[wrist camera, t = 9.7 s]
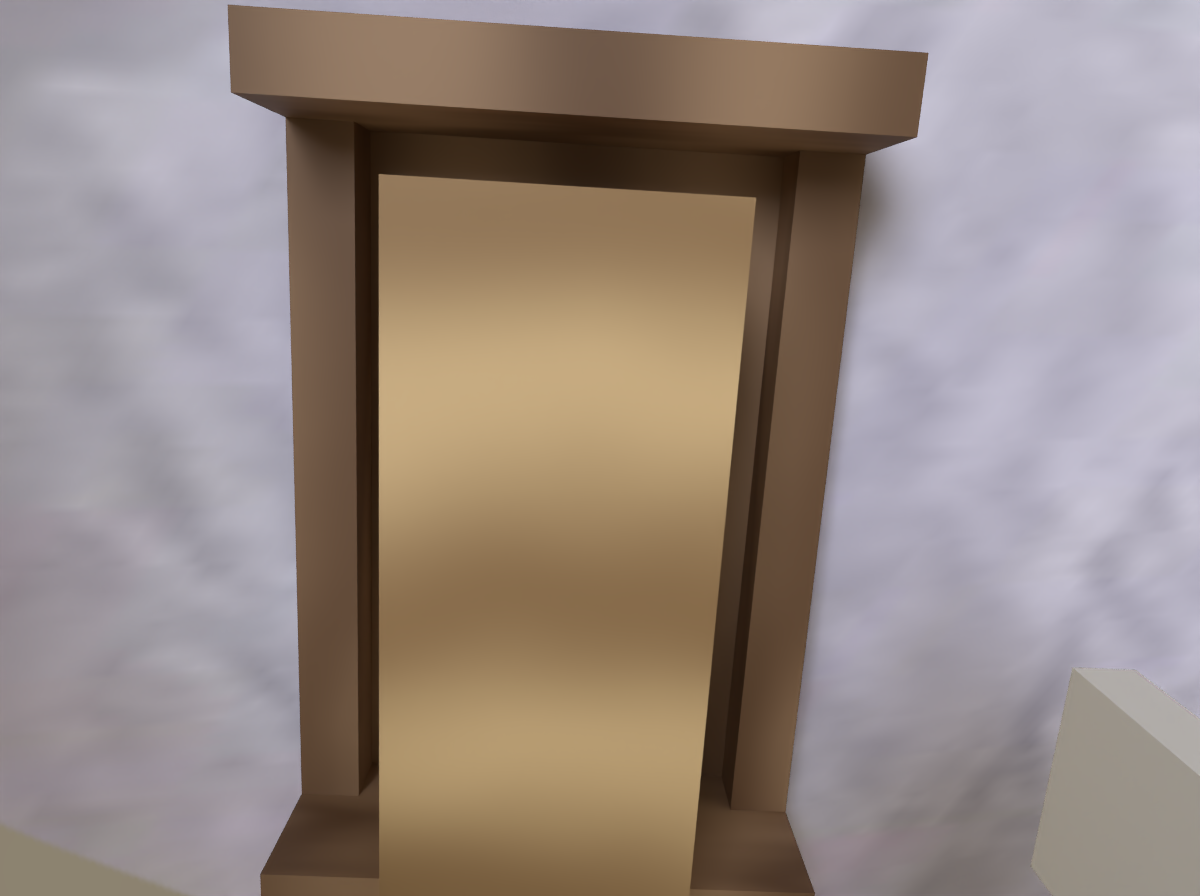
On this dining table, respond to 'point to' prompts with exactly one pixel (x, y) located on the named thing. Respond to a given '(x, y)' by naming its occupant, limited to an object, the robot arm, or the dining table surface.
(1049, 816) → the robot arm
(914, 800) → the dining table surface
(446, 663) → the plank
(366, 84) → the peg frame
